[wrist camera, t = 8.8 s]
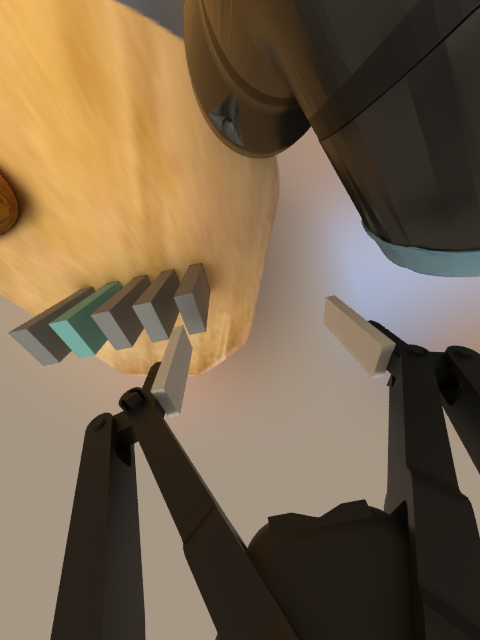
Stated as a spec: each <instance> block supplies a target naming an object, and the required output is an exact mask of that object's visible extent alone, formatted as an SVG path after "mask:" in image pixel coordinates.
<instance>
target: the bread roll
mask: <svg viewBox="0 0 480 640" xmlns="http://www.w3.org/2000/svg"><path fill="white" fill-rule="evenodd" d="M18 211H19V206H18V204H17V200H16V198H15V195H14V193H13V191H12V189H11V188H10V186H9V185H8V183H7V182H6V180H5V179H4V178H3V177H2V176H1V175H0V235H2V234H4V233H5V232H6V231H7V230H8V229H9V228H10V227H11V226H12V225H13V224H14V222H15V221H16V218H17V215H18Z"/></svg>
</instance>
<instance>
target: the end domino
mask: <svg viewBox="0 0 480 640" xmlns="http://www.w3.org/2000/svg"><path fill="white" fill-rule="evenodd" d="M94 292H95V290H94V289H93V287H90V288H85V289H81V290H79V291H77V292H76V293H74V294H72V295H71V296H69V297H67V298H66V299H64V300H62V301H61V302H59V303H57V304H56V305H54V306H52V307H51V308H49V309H47V310H46V311H44V312H42V313H41V314H39V315H37V316H36V317H34V318H32V319H31V320H29V321H27V322H26V323H24V324H22V325H21V326H19V327H17V328H16V329H14V330H12V331H11V332H9V334H10V335H11V336H12V337H13V338H14V339H15V340H16V341H17V342H19V343H20V344H21V345H22V346H23V347H24V348H25V349H26V350H27V351H28V352H29V353H30V354H31V355H32V356H34V357H35V358H36V359H37V360H38V361H39V362H40V363H41V364H42V365H43V366H45V365H50V364H54V363H59V362H61V361H62V360H63V359H64V358H65V356H67V355H68V353H70V352H71V351H72V350H71V349H70V348H69V347H68V345H67V344H66V343H65V342H64V341H63V340H62V339H61V338H60V337H59V336H58V334H57V333H56V332H55V331H54V330H53V329H52V328H51V327H50V326H49V323H51V322H52V321H54V320H55V319H56V318H58V317H59V316H61V315H62V314H64V313H65V312H67V311H68V310H69V309H71V308H72V307H74V306H75V305H77V304H78V303H80V302H81V301H83V300H84V299H85V298H87V297H88V296H90V295H91V294H93V293H94Z"/></svg>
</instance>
